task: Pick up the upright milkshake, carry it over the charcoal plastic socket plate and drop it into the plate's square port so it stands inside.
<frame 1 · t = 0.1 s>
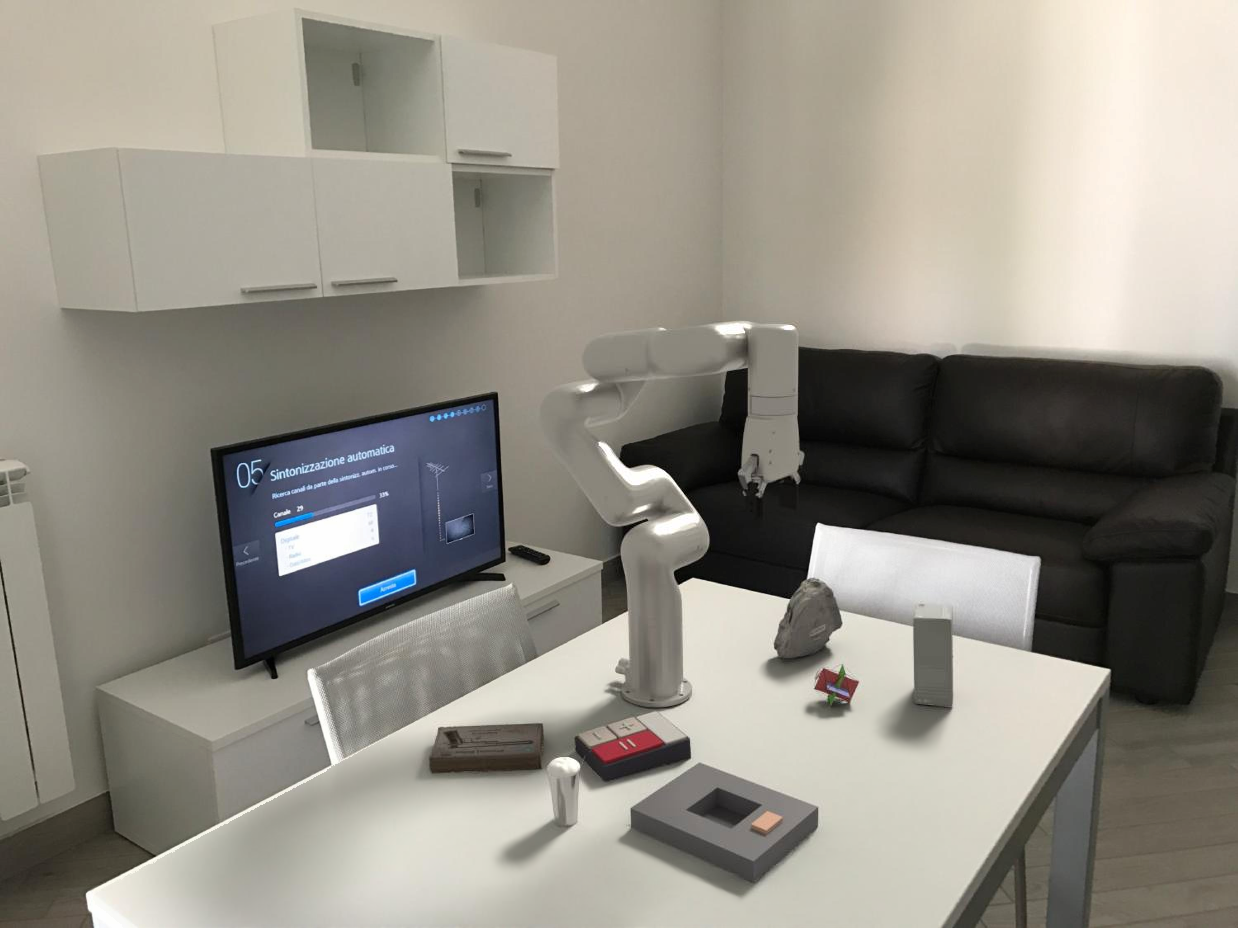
hand: (772, 514, 160), 37 cm above the table, fingers open, 9 cm apart
box: (489, 758, 163), on the table
decorative rock: (807, 653, 199), on the table
skincare box: (931, 697, 179), on the table
socket plate: (724, 827, 141), on the table
milkshake: (568, 821, 144), on the table
geometric puzzle: (836, 703, 178), on the table
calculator: (632, 758, 162), on the table
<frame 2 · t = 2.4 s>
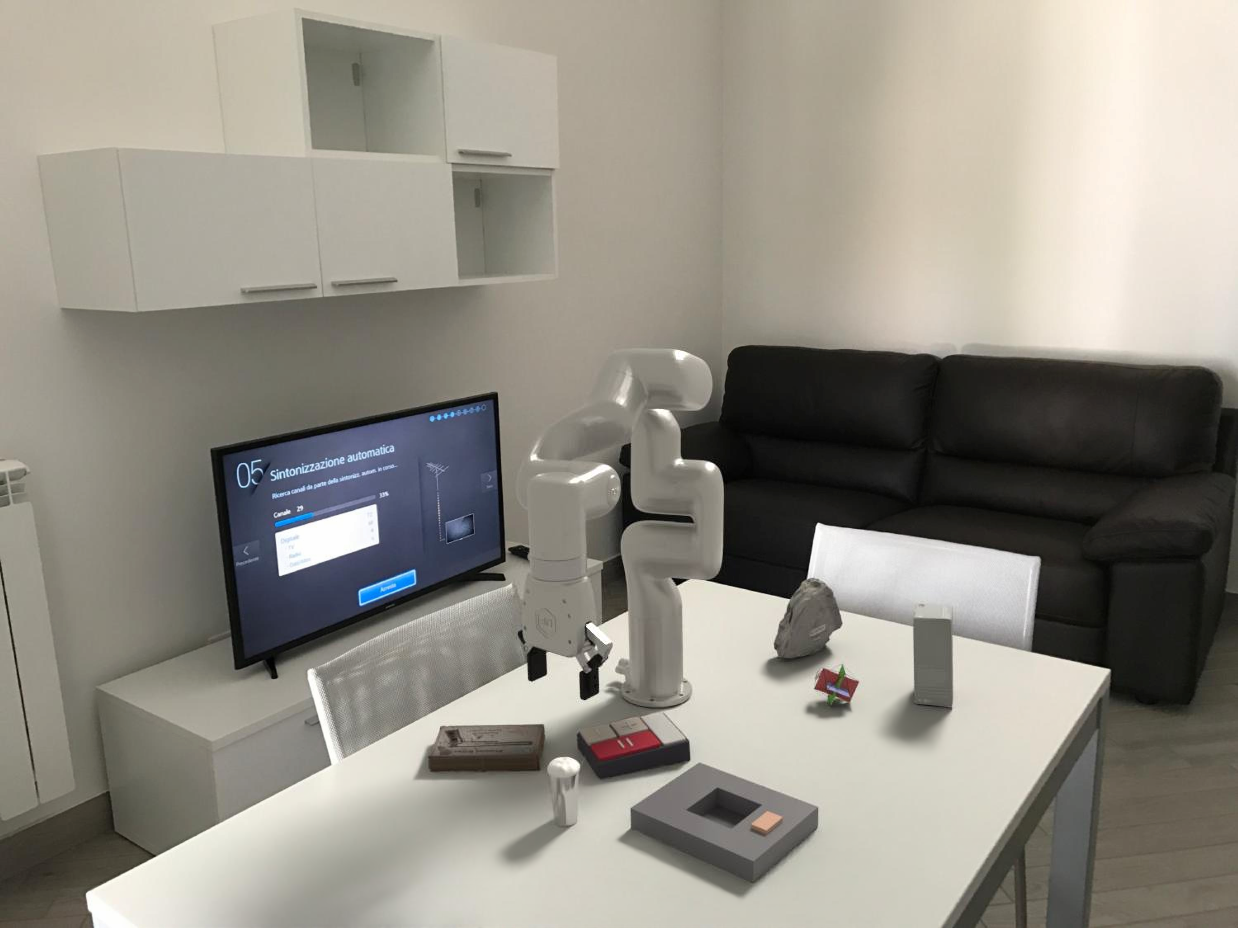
hand: (563, 687, 139), 20 cm above the table, fingers open, 9 cm apart
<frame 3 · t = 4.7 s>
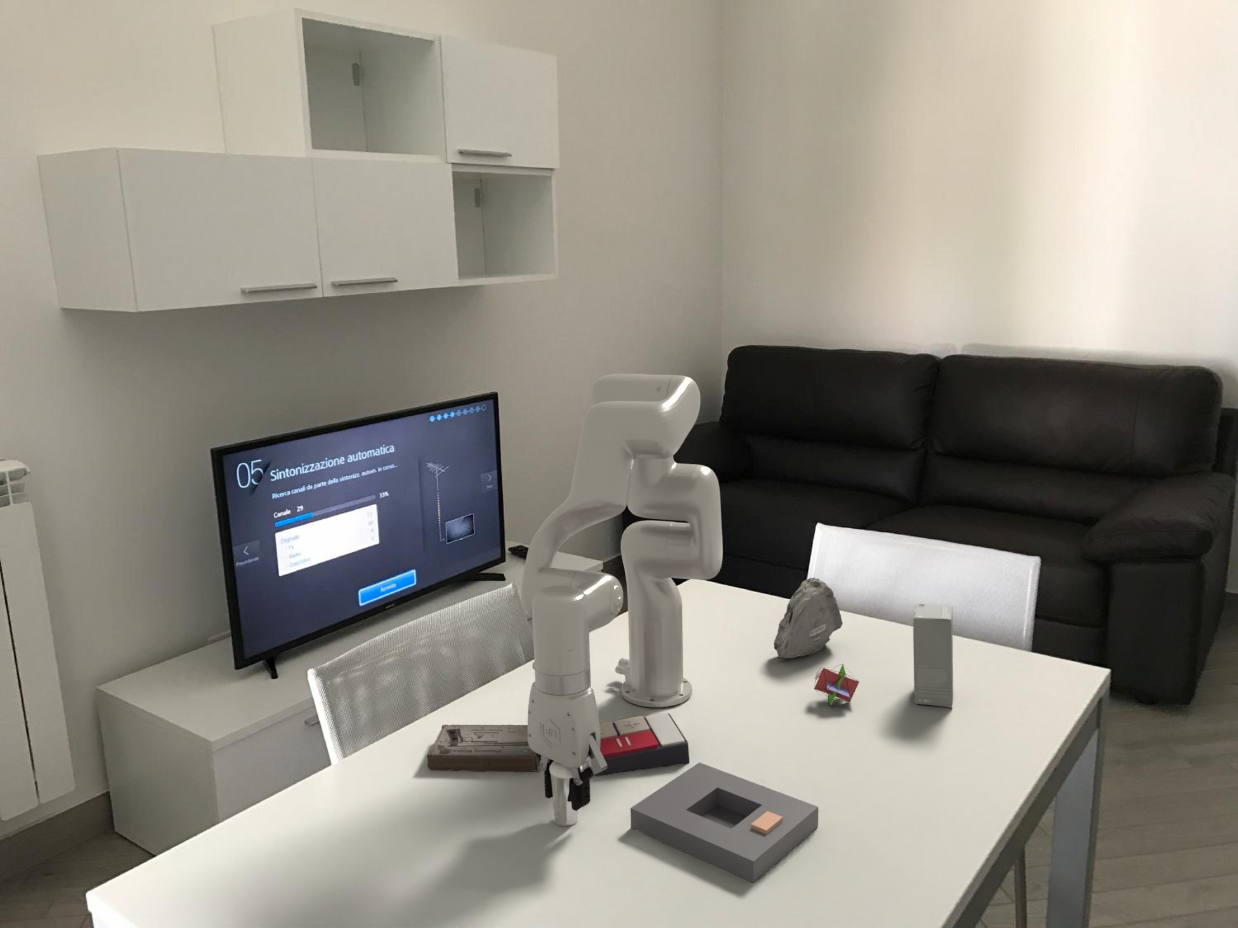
hand: (567, 798, 143), 3 cm above the table, fingers closed on milkshake, 4 cm apart
milkshake: (568, 821, 144), on the table, touching gripper
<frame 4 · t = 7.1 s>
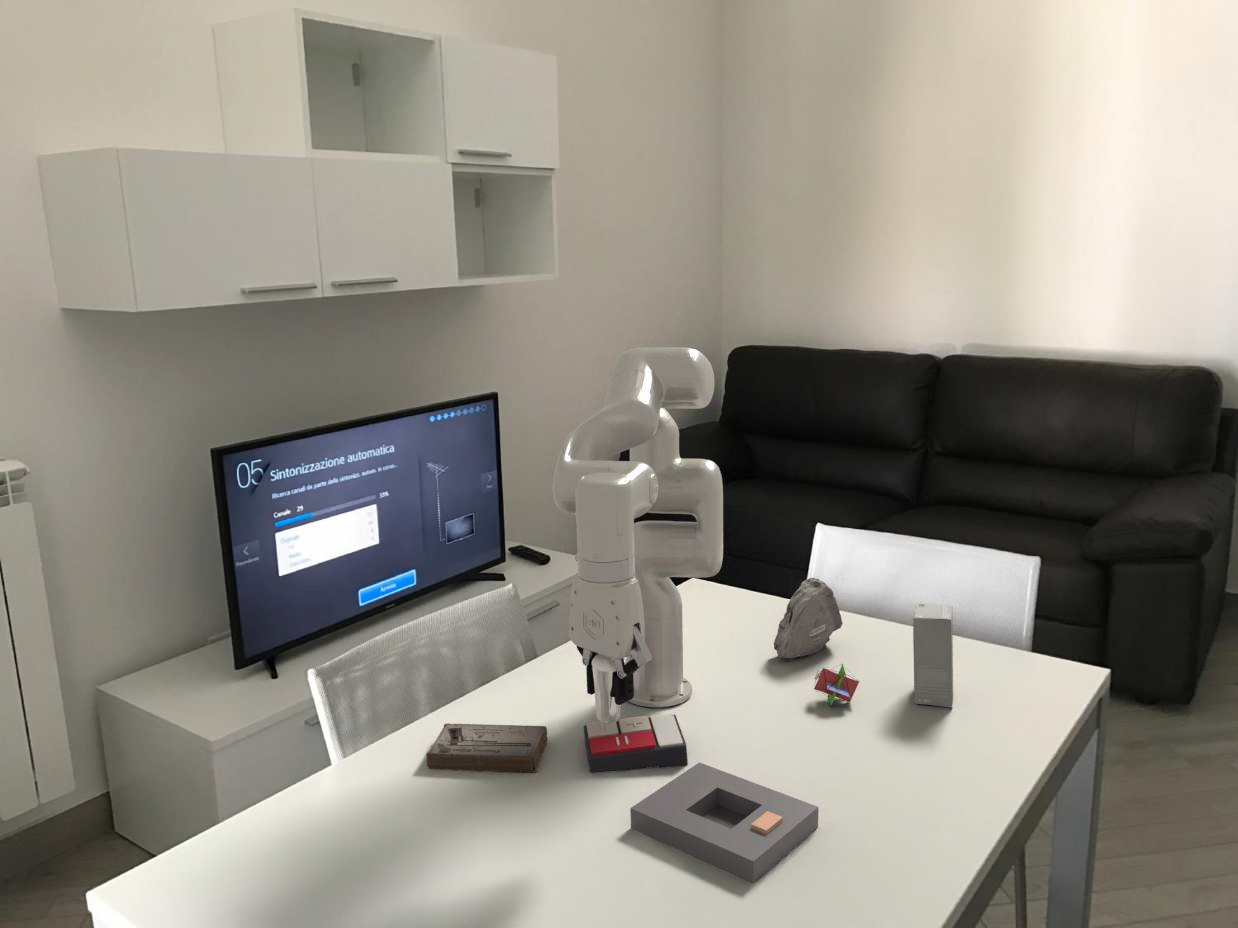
hand: (610, 694, 139), 19 cm above the table, fingers closed on milkshake, 4 cm apart
milkshake: (610, 718, 140), point 16 cm above the table, touching gripper
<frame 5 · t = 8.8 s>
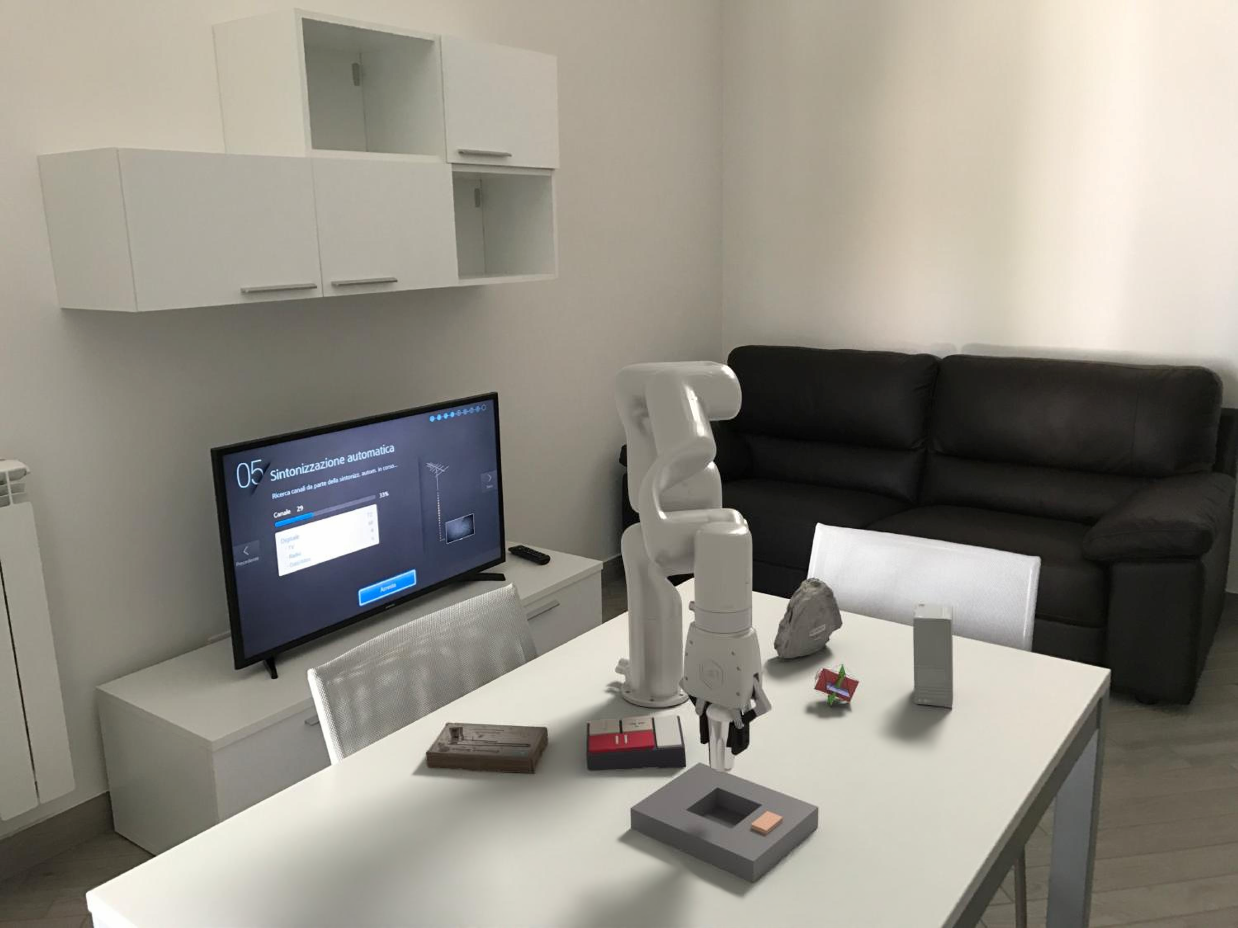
hand: (724, 744, 138), 12 cm above the table, fingers closed on milkshake, 4 cm apart
milkshake: (724, 768, 139), point 9 cm above the table, touching gripper
when the fingers open (8 cm above the table, at t = 9.9 s): milkshake drops 4 cm, resting on socket plate.
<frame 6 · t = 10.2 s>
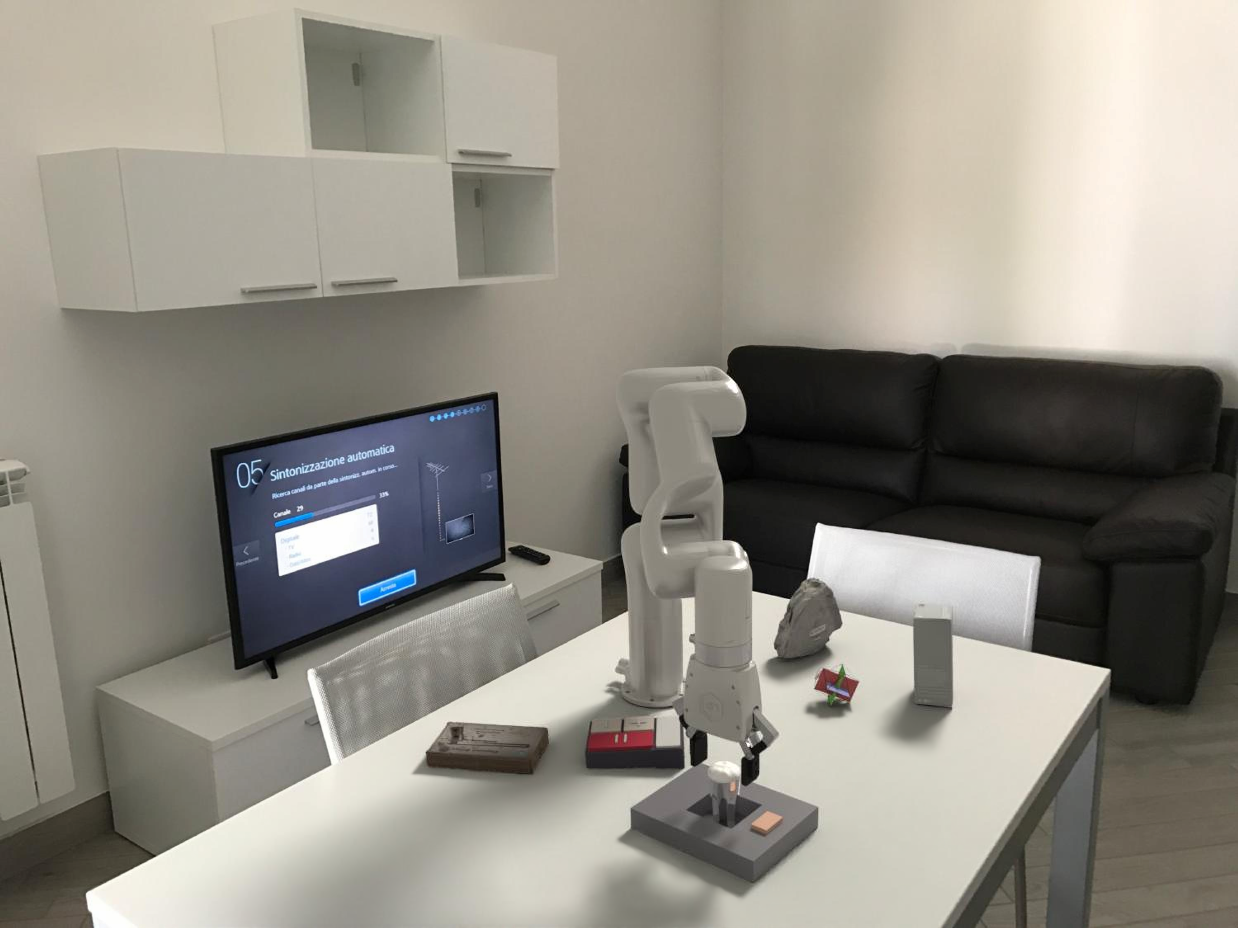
hand: (723, 771, 139), 8 cm above the table, fingers open, 7 cm apart
milkshake: (727, 827, 141), resting on socket plate
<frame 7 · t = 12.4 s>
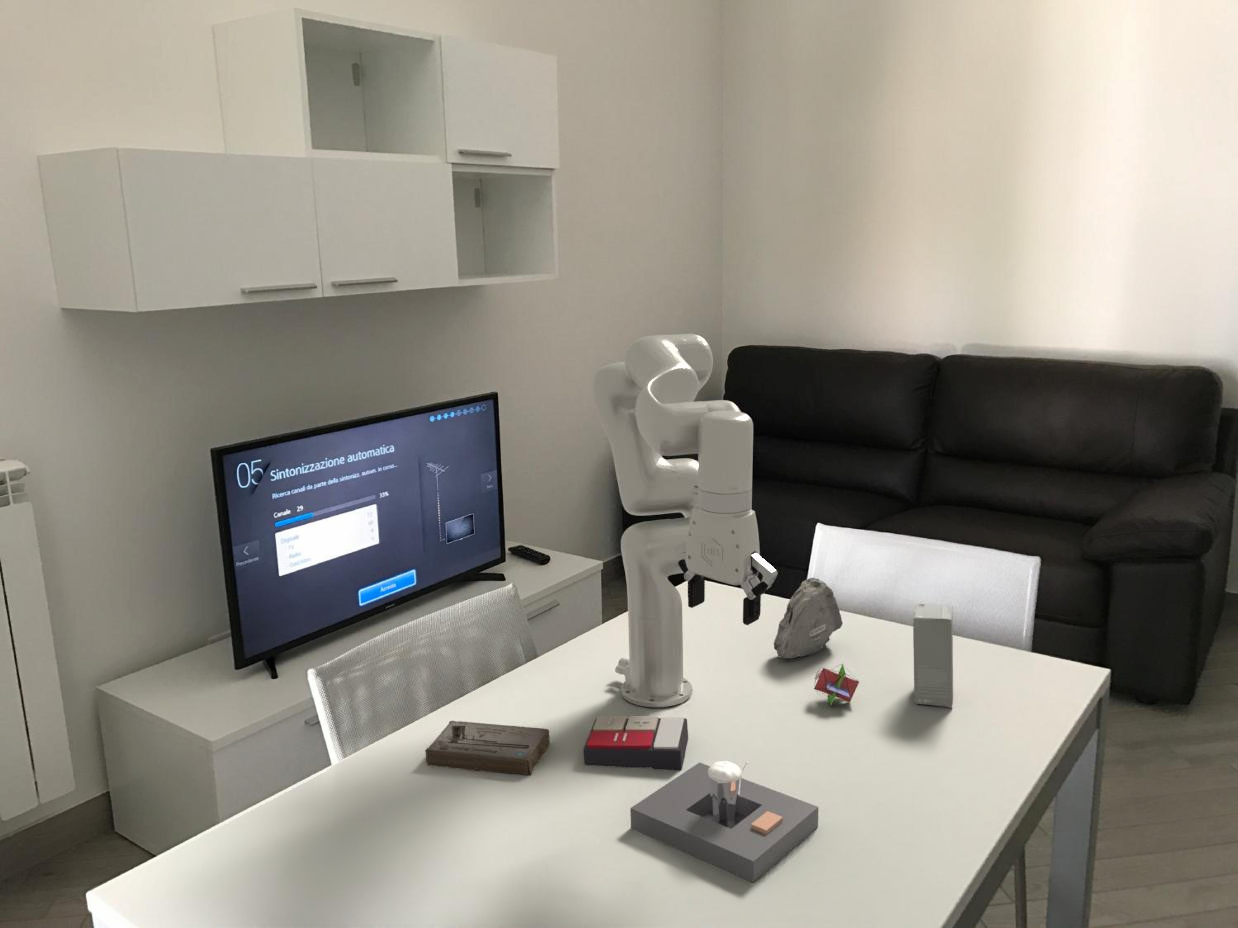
hand: (723, 613, 148), 26 cm above the table, fingers open, 9 cm apart
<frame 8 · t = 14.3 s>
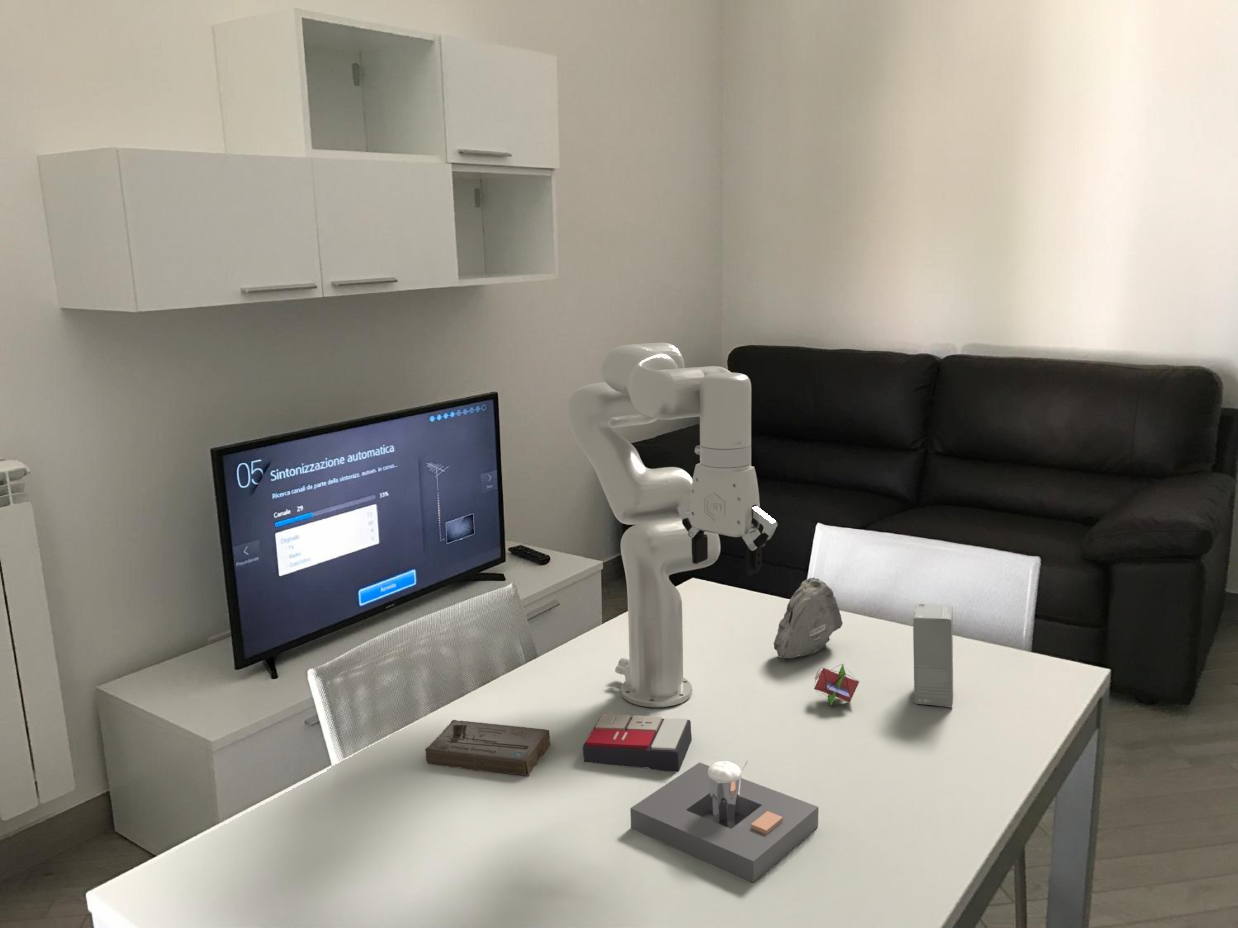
hand: (726, 567, 155), 30 cm above the table, fingers open, 9 cm apart
at the end: milkshake 0.5 cm off-centre on the socket plate, point 0.1 cm above the socket plate's base; milkshake tilted 0°; the gripper is holding nothing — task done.
